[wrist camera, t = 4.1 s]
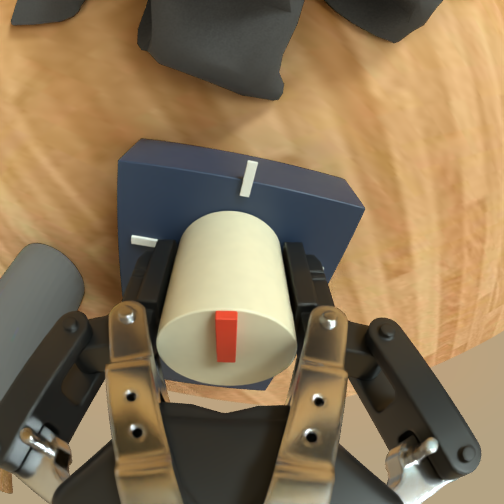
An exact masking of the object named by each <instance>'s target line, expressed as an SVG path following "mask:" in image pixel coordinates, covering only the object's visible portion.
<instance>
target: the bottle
mask: <svg viewBox="0 0 504 504" xmlns="http://www.w3.org/2000/svg"><path fill="white" fill-rule="evenodd" d="M83 295H84V282H83V280H82V277H81V275H80V273H79V271H78V270H77V268H76V267H75V266H74V264H73V263H72V262H71V261H70V260H69V259H68V258H67V257H66V256H65V255H64V254H62V253H61V252H60V251H58V250H56V249H54V248H52V247H50V246H47V245H45V244H39V243H34V244H29V245H28V246H26V247H24V248H23V249H22V251H21V252H20V253H19V254H18V255H17V257H16V258H15V259H14V261H13V262H12V263H11V265H10V266H9V268H8V269H7V270H6V272H5V273H4V275H3V276H2V278H1V279H0V402H1V400H2V399H3V397H4V395H5V394H6V392H7V391H8V389H9V387H10V386H11V384H12V383H13V381H14V380H15V378H16V377H17V375H18V374H19V372H20V371H21V369H22V368H23V367H24V365H25V364H26V362H27V361H28V359H29V358H30V357H31V355H32V354H33V352H34V351H35V350H36V348H37V347H38V346H39V344H40V343H41V342H42V340H43V339H44V337H45V336H46V335H47V334H48V332H49V331H50V330H51V328H52V327H53V326H54V324H55V323H56V322H57V321H58V319H59V318H60V317H61V316H62V315H64V314H66V313H68V312H71V311H77V310H78V308H79V306H80V303H81V301H82V298H83ZM0 491H2V492H5V493H9V494H12V493H13V488H12V473H10V472H8V471H5V470H3V469H1V468H0Z"/></svg>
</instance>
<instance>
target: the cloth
mask: <svg viewBox="0 0 504 504" xmlns="http://www.w3.org/2000/svg"><path fill="white" fill-rule="evenodd" d="M84 1H85V0H18V1H17V3H16V6H15V10H14V13H13V16H12V19H11V24H12V25H35V24H43V23H51V22H60V21H63V20H65V19H68V18H70V17H73V16H74V15H75V14H76V13H77V12H78V11H79V10H80V7H81V5H82V4H83V2H84ZM324 1H325V2H326V3H327V4H328V5H329V6H330V7H331V8H332V9H334V10H335V11H336V12H337V13H338V14H340V15H341V16H343V17H344V18H346V19H347V20H348V21H350V22H351V23H353V24H355V25H356V26H358V27H360V28H362V29H364V30H366V31H368V32H370V33H371V34H373V35H375V36H377V37H380V38H382V39H385V40H388V41H390V42H393V43H396V42H399V41H400V40H402V39H403V38H404V37H405V36H407V35H408V34H409V33H411V32H412V31H414V30H416V29H418V28H419V27H421V26H423V25H424V24H425V23H426V22H427V20H428V19H429V17H430V16H431V15H432V13H433V12H434V10H435V9H436V8H437V7H438V6H439V5H440V3H441V2H442V1H443V0H324ZM303 3H304V0H148V1H147V5H146V8H145V11H144V14H143V16H142V19H141V22H140V25H139V28H138V42H137V44H138V45H139V47H140V48H141V50H144V51H148V52H149V53H150V54H151V55H152V56H153V58H154V59H155V60H156V61H157V62H158V63H159V64H162V65H165V66H167V67H170V68H173V69H176V70H178V71H181V72H184V73H186V74H189V75H192V76H194V77H197V78H200V79H202V80H205V81H208V82H210V83H213V84H215V85H218V86H220V87H223V88H225V89H228V90H230V91H233V92H235V93H237V94H240V95H243V96H250V97H256V98H262V99H268V100H279V98H280V97H281V95H282V94H283V87H284V83H283V81H282V78H281V76H280V73H279V71H280V66H281V61H282V56H283V53H284V51H285V49H286V47H287V45H288V43H289V40H290V38H291V36H292V34H293V32H294V30H295V28H296V26H297V23H298V20H299V17H300V13H301V10H302V7H303Z"/></svg>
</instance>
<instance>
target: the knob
mask: <svg viewBox="0 0 504 504" xmlns="http://www.w3.org/2000/svg"><path fill="white" fill-rule="evenodd" d="M156 347H157V351H158V354H159V356H160V357H161V359H162V360H163V361H164V362H165V364H166V365H167V366H169V367H170V368H171V369H172V370H174V371H175V372H177V373H179V374H181V375H182V376H185V377H187V378H189V379H192V380H195V381H199V382H202V383H207V384H213V385H223V386H236V385H246V384H252V383H257V382H260V381H264V380H267V379H269V378H272V377H274V376H276V375H278V374H279V373H281V372H282V371H284V370H285V369H286V368H287V367H288V366H289V365H290V364H291V363H292V362H293V360H294V358H295V356H296V354H297V349H298V346H297V338H296V332H295V326H294V320H293V314H292V308H291V302H290V296H289V290H288V285H287V279H286V273H285V268H284V262H283V257H282V251H281V246H280V242H279V240H278V238H277V236H276V234H275V233H274V231H273V230H272V229H271V228H270V227H269V226H268V225H267V224H266V223H265V222H263V221H262V220H260V219H259V218H257V217H255V216H253V215H250V214H247V213H243V212H238V211H220V212H214V213H211V214H208V215H205V216H203V217H201V218H199V219H197V220H196V221H195V222H193V223H192V224H191V225H190V226H189V227H188V228H187V229H186V230H185V232H184V233H183V235H182V237H181V239H180V242H179V246H178V250H177V253H176V257H175V261H174V265H173V269H172V273H171V277H170V281H169V285H168V289H167V293H166V297H165V301H164V306H163V310H162V315H161V319H160V324H159V328H158V333H157V338H156Z"/></svg>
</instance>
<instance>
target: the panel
mask: <svg viewBox="0 0 504 504" xmlns="http://www.w3.org/2000/svg"><path fill="white" fill-rule="evenodd" d="M220 211H238V212H243V213H247V214H250V215H253V216H255V217H257V218H259V219H260V220H262V221H263V222H265V223H266V224H267V225H268V226H269V227H270V228H271V229H272V230H273V231H274V233H275V234H276V236H277V238H278V240H279V242H280V246H281V251H283V245H284V242H301V243H302V244H303V247H304V250H305V254H307V255H315V257H316V258H317V259H318V260H319V261H320V262H321V264H322V267H323V270H324V273H325V276H326V281H327V283H329V281H330V279H331V277H332V275H333V273H334V272H335V270H336V268H337V266H338V264H339V262H340V260H341V258H342V256H343V254H344V252H345V250H346V248H347V246H348V244H349V242H350V240H351V238H352V236H353V234H354V232H355V230H356V228H357V225H358V223H359V221H360V219H361V217H362V215H363V213H364V211H365V207H364V206H363V204H362V203H361V201H360V200H359V198H358V197H357V196H356V194H355V193H354V191H353V190H352V189H351V187H350V186H349V185H348V183H347V182H346V180H345V179H342V178H339V177H335V176H332V175H328V174H324V173H321V172H317V171H313V170H309V169H305V168H301V167H297V166H293V165H289V164H285V163H280V162H276V161H272V160H267V159H262V158H258V157H253V156H248V155H243V154H238V153H233V152H228V151H222V150H217V149H211V148H205V147H199V146H193V145H187V144H180V143H173V142H166V141H159V140H151V139H140V140H139V141H138V142H137V143H136V144H135V145H133V146H132V147H131V148H130V149H129V150H128V151H127V152H126V153H125V154H124V155H123V156H122V157H121V158H120V159H119V160H118V178H117V220H118V247H119V263H120V276H121V287H122V297H123V296H124V294H125V291H126V288H127V286H128V283H129V280H130V278H131V276H132V273H133V270H134V269H135V265H136V263H137V260H138V258H139V257H140V256H141V255H142V254H143V253H144V252H145V251H153V250H154V248H155V245H156V242H157V240H158V239H169V240H176V244H177V250H178V246H179V242H180V239H181V237H182V235H183V233H184V232H185V230H186V229H187V228H188V227H189V226H190V225H191V224H192V223H193V222H195V221H196V220H197V219H199V218H201V217H203V216H205V215H208V214H211V213H214V212H220ZM160 359H161V357H160ZM161 364H162V369H163V374H164V379H165V380H171V381H178V382H184V383H191V384H199V385H207V386H216V387H225V388H236V389H249V390H266V388H267V387H268V385H269V384H270V382H271V380H272V379H273V377H272V378H269V379H267V380H264V381H260V382H257V383H252V384H246V385H236V386H223V385H213V384H207V383H202V382H199V381H195V380H192V379H189V378H187V377H185V376H182V375H181V374H179V373H177V372H175V371H174V370H172V369H171V368H170V367H169V366H167V365H166V364H165V362H164V361H163V360H162V359H161Z"/></svg>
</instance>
